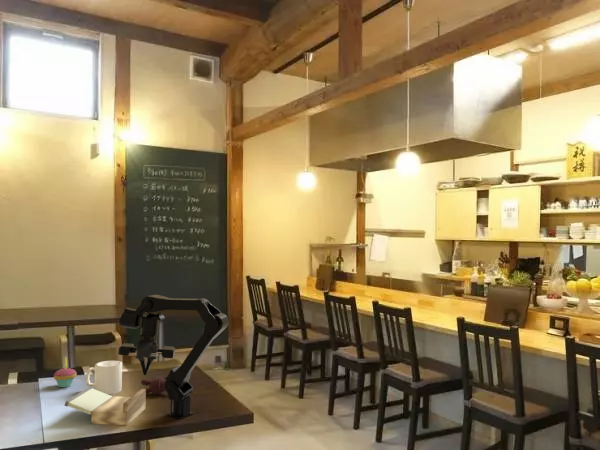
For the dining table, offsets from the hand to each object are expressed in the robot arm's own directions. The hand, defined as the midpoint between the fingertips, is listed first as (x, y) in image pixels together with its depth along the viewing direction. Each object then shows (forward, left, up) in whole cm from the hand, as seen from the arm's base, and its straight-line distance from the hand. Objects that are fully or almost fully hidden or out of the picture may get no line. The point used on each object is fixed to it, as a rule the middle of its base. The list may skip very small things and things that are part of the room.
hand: (145, 374), depth 177 cm
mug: (+32, -7, -13) cm, 35 cm away
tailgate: (+8, +11, -9) cm, 16 cm away
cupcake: (+50, -1, -13) cm, 52 cm away
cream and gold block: (+3, +8, -13) cm, 15 cm away
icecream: (+11, -16, -13) cm, 23 cm away
